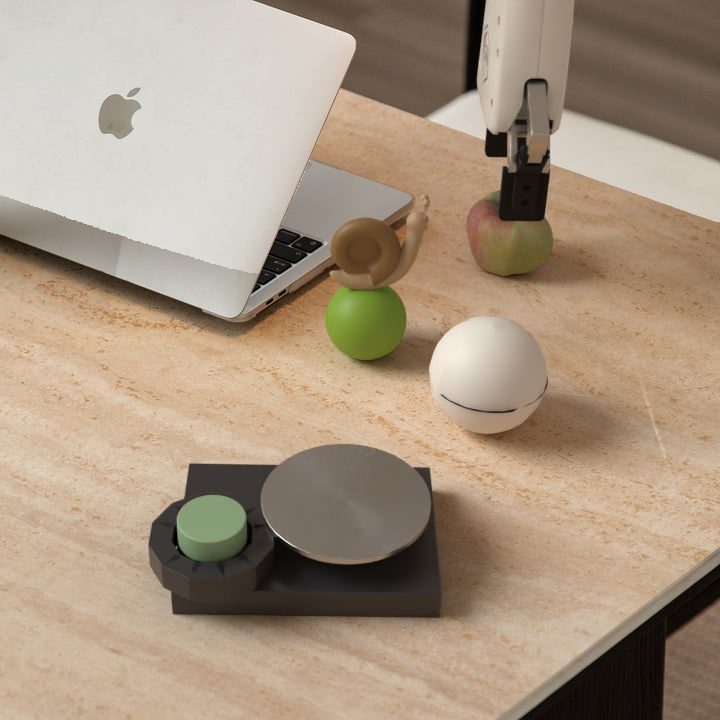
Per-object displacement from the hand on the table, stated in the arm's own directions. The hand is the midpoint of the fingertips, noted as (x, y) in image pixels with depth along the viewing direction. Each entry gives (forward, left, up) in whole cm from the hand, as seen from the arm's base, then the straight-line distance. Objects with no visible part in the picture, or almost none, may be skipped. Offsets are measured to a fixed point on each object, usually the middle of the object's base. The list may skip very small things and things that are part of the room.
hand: (512, 186), depth 91 cm
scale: (-14, -31, -7) cm, 35 cm away
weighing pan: (-12, -31, -3) cm, 34 cm away
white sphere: (-2, -20, -7) cm, 21 cm away
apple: (0, 0, -7) cm, 7 cm away
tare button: (-19, -33, -4) cm, 39 cm away
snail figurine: (-10, -12, -7) cm, 17 cm away
